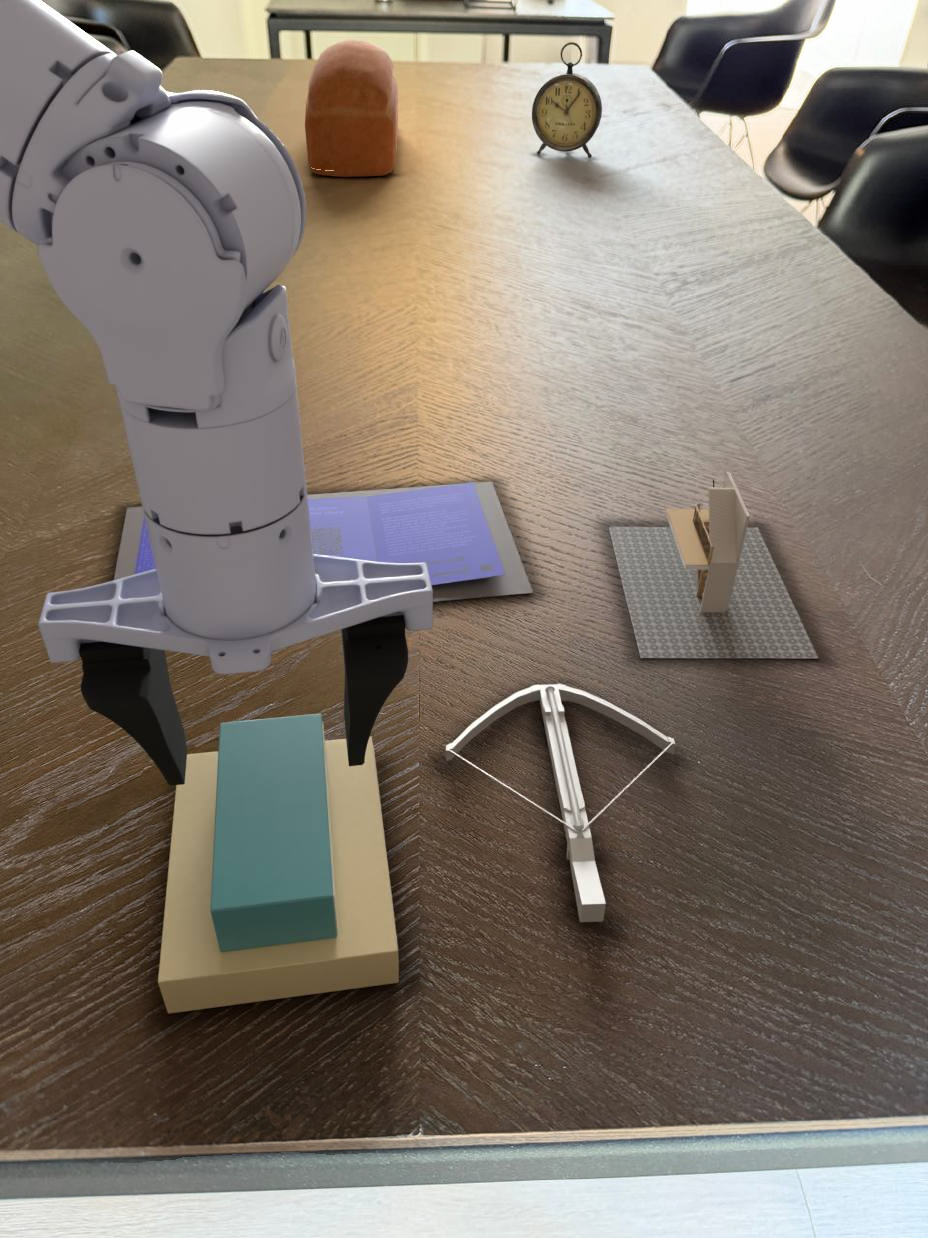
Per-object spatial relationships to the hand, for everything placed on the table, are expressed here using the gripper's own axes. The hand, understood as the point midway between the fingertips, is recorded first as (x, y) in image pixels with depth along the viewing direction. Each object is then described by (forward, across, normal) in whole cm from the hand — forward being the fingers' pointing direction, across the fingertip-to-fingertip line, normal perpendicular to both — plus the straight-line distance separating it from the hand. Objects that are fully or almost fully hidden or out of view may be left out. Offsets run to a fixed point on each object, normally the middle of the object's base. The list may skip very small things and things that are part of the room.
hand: (267, 758), depth 43 cm
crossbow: (+8, +15, +3) cm, 17 cm away
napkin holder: (+8, +29, +20) cm, 36 cm away
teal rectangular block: (+6, 0, 0) cm, 6 cm away
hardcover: (+8, 0, 0) cm, 8 cm away
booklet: (+8, +3, +28) cm, 29 cm away
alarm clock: (+8, +48, +138) cm, 146 cm away
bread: (+8, +14, +143) cm, 144 cm away
